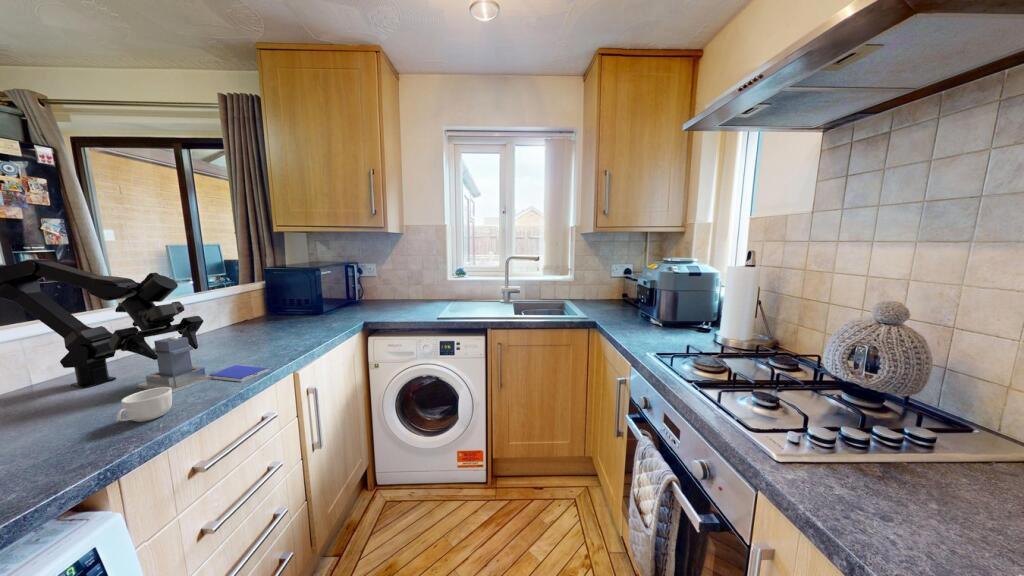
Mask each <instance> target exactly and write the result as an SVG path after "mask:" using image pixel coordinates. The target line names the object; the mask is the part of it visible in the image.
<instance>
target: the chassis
mask: <svg viewBox="0 0 1024 576" xmlns="http://www.w3.org/2000/svg"><path fill="white" fill-rule="evenodd" d="M192 370H193V371H189V372H186V373H183V374H180V375H176V376H173V377H169V376H162V375H160V374H159V371H157V372H153V373H149V374H147V375H145V382H141V383H139V384H137V388H139V389H140V388H141V389H145V390H148V389H153V388H160V387H170V388H171V389H172V394H173V393H177V392H179V391H181V390H184V389H187V388H191V387H193V386H196V385H199V384H202V383H205V382H207V381H211V380H214V377H213V376H210V375H209V374H208V373H207V374H206V371H205V370H206V369H205V367H202V366H201V367H200V366H194V365H192Z"/></svg>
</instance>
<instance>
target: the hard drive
mask: <svg viewBox="0 0 1024 576" xmlns="http://www.w3.org/2000/svg"><path fill="white" fill-rule="evenodd" d="M268 372H269V368H268V367H258V366H249V365H241V364H235V365H232V366H229V367H226V368H224V369H220V370H217V371H214V372H211V373H210V374H208V375H210V376H213V377H214V379H215V380H225V381H231V382H244V381H247V380H249V379H253V378H255V377H257V376H259V375H260V376H261V375H262V374H265V373H268ZM214 379H213V380H214Z"/></svg>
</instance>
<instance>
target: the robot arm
mask: <svg viewBox="0 0 1024 576" xmlns="http://www.w3.org/2000/svg"><path fill="white" fill-rule="evenodd" d="M44 278H46V279H49V280H52V281H55V282H58V283H63V284H65V285H66V284H67V285H70V286H74V287H76V288H80V289H83V290H86V291H87V292H88V293H89V294H90V295H91V296H93V297H96V298H98V299H100V300H102V301H108V302H110V301H116V300H117V301H118V300H122V301H121V302H118V305H117V307H116V308H115V310H114V311H115V313H126V314H128V316H129V317H130V318H131V319H132V321H133V322H132V326H131V327H125V328H121V329H115V330H114V332H113V333H112V332H110V330H108V329H107V328H106V327H105V326H103V325H101V326H96V327H91V326H88V325H86V324H85V323H84V322H82V321H81V320H80V319H78V318H77V317H75V316H74V315H73V314H72V313H70V312H69V311H68V310H66V309H65V308H63V306H61V305H59V304H58V303H57V302H56V301H54V300H53V299H52V298H50V297H49V296H47V294H45V293H44V292H42V291H41V287H40V286H41V284H40V282H39V280H43V279H44ZM178 287H179V285H178V283H177V282H176V280H174V279H173V278H170V277H168V276H165V275H162V274H161V275H160V273H158V272H150V273H148V274H147V275H146V277H145V278H144V279H142V281H141V282H137V281H136V280H134V279H132V278H129V277H128V278H127V277H121V276H116V275H115V276H110V275H102V274H101V275H100V274H97V273H94V272H93V273H92V272H90V271H86V270H83V269H79V268H76V267H72V266H69V265H65V264H62V263H59V262H56V261H53V260H52V259H48V258H36V259H35V258H33V259H24V260H22V261H19V262H16V263H14V264H9V265H5V266H1V267H0V298H1V299H2V300H3V299H4V300H7V301H11V302H13V303H15V304H17V305H18V306H20V307H21V308H22V309H24V310H25V311H26V312H28V313H29V314H31V315H32V316H33V317H35V318H36V319H37V320H39V321H40V322H41V323H43V324H44V325H45V326H47V327H48V328H50V329H51V330H53V331H54V332H55V333H56V334H58V335H59V336H60V337H62V338H63V342H64V347H65V349H66V350H67V351H68V352H67V353H66V354H65V356H63V357H62V358H61V359H60V361H59V363H60V365H61V366H62V367H63V368H64V369H68V368H69V369H70V368H74V374H75V379H76V382H72V383H71V384H70V387H75V388H82V389H87V388H90V387H92V386H97V385H100V384H103V383H106V382H111V381H114V380H116V379H117V377H114V376H110V375H109V370H108V363H107V360H108V359H110V358H115V356H116V351H119V350H120V351H121V352H129V353H130V352H131V353H134V354H137V355H140V356H143V357H146V358H147V359H151V360H154V361H156V360H157V358H158V356H157V355H156V353H155V352H154V351H153V349H154V348H152V347H151V346H150V345H149V344H148V343H147V341H146V339H145V338H149V337H156V336H160V335H161V336H162V335H166V334H171V333H175V332H178V334H179V335H180V337H185V338H188V343H189V347H193V350H198V348H199V344H198V339H197V332H198V331H199V329H200V327H201V326H202V325H203V323H204V319H203V318H202V317H201V316H200V315H192V316H188V317H183V318H182V319H181V320H180V322H179V323H175V324H172V323H173V322H174V321H175V318H174V317H175V316H178V315H180V314H181V313H182V312H184V311H185V307H184V305H183V303H181V302H180V300H179V301H178V300H177V301H173V302H171V303H166V304H160V305H156V304H155V303H159V302H163V301H164V300H165V299H167V298H168V296H170V295H171V294H172V293H173V292H175V290H177V288H178ZM139 329H140V330H139Z"/></svg>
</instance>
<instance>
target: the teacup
mask: <svg viewBox="0 0 1024 576" xmlns="http://www.w3.org/2000/svg"><path fill="white" fill-rule="evenodd" d="M121 405H122V408H121V409H119V410H118V412H117V413H116V419H117V421H121V422H122V421H123V422H124V421H125V422H126V421H133V422H139V423H142V422H148V421H153V420H156V419H158V418H160V417H162V416H164V415H165V414H166V413H167V414H168V412H169V411H170V410H171V407H172V405H173V393H172V389H171V388H170V387H160V388H153V389H145V390H141V391H138V392H135V393H132V394H129V395H127V396H126V397H125V396H124V397H123V398H122V399H121ZM122 413H124V415H125V416H126V418H122V416H121V415H122Z"/></svg>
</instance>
